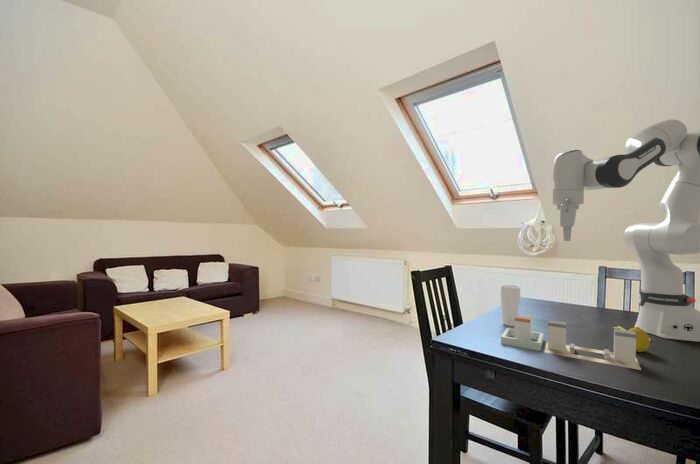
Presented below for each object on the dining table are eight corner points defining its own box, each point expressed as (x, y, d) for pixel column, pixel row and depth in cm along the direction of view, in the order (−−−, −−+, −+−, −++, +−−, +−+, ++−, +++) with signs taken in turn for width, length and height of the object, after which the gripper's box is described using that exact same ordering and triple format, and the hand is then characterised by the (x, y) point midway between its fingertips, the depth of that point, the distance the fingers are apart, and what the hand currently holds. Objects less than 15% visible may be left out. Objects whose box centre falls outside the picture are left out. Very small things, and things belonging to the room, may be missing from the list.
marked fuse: (531, 342, 110) (531, 317, 109) (530, 345, 107) (530, 319, 107) (515, 339, 112) (515, 315, 112) (514, 342, 110) (514, 317, 109)
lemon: (640, 358, 98) (640, 330, 98) (620, 351, 103) (620, 325, 103) (654, 355, 100) (654, 328, 99) (633, 349, 105) (634, 323, 105)
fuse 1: (565, 348, 103) (566, 322, 103) (565, 351, 101) (565, 325, 101) (548, 345, 106) (548, 320, 106) (548, 348, 103) (548, 322, 103)
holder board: (635, 358, 97) (635, 356, 97) (641, 373, 88) (641, 370, 88) (546, 343, 110) (546, 341, 110) (544, 355, 101) (544, 352, 101)
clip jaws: (608, 358, 98) (608, 349, 98) (609, 362, 95) (609, 354, 95) (569, 351, 103) (570, 343, 103) (569, 355, 100) (569, 347, 100)
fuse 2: (633, 360, 95) (634, 331, 94) (635, 364, 92) (636, 334, 92) (613, 356, 97) (613, 328, 97) (614, 360, 95) (615, 331, 94)
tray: (543, 342, 111) (543, 333, 111) (540, 353, 102) (540, 343, 102) (506, 336, 117) (506, 327, 117) (500, 345, 108) (501, 336, 108)
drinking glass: (522, 329, 125) (522, 288, 125) (502, 328, 126) (503, 287, 126) (517, 323, 132) (517, 285, 131) (498, 322, 133) (498, 284, 133)
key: (618, 331, 123) (618, 325, 123) (654, 343, 111) (654, 336, 111) (601, 332, 122) (601, 326, 122) (636, 344, 110) (636, 338, 110)
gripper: (579, 196, 104) (578, 242, 104) (579, 200, 121) (578, 239, 121) (555, 197, 107) (554, 241, 108) (558, 201, 124) (557, 238, 125)
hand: (567, 240), depth 115 cm, fingers open, 8 cm apart
